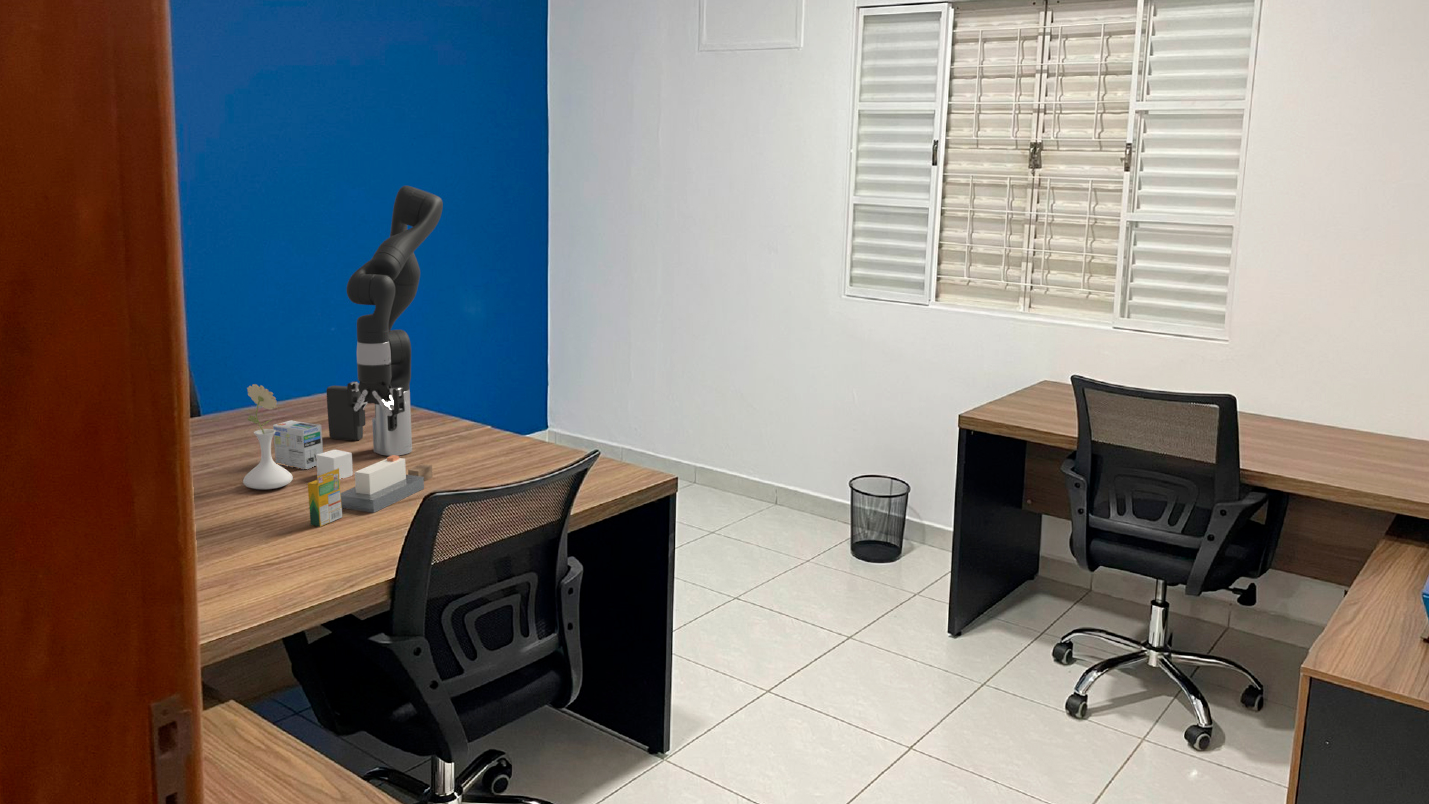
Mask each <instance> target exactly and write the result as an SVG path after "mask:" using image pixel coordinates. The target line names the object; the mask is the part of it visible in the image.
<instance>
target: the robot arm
mask: <svg viewBox="0 0 1429 804" xmlns="http://www.w3.org/2000/svg"><path fill="white" fill-rule="evenodd" d="M443 204H444V202H443V200H442V198H441V197H440V196H438V195H436V194H433V193H431V192H429V191H426V190H422V189H420V188H417V187H413V186H412V185H411V186H410V185H402V186H401V187H400V188H399V190H398V191H397V193H396V196H395V200H394V203H393V210H392V215H391V225H390V233H389V237H388V238H386V239H385V240H384V241H382V243H380V244H379V246H378V247H377V250H376V251H375V252H374V254H373V255H372V257H371V259H370V260H368V261H367V262H364V264H363V265H362V266H360V267H359V268H358V269H356V271H355V272H353V273H352V275H351V276H350V277H349V279H348V282H347V284H346V294H347V298H348V299H349V300H350V301H351V302H352V303H353V304H356V305H364V306H375V309H374V310H373V313H370V314H364V315H361V316H359V317H358V318H357V320H356V341H357V343H356V344H357V345H356V365H357V366H356V368H357V370H356V372H357V380H356V381H351V382H348V383H347V385H346V386H347V406H348V407H349V408H353V409H354V411H355V417H356V424H357V426H358V427H362V426H363V427H364V426H366V410H365V407H366V406H367V405H368V404H374V413H375V414H374V417H372V419H371V422H372V423H371V424H372V425H371V426H372V440H373V441H372V442H373V443H372V444H373V446H372V447H373V453H376V454H378V455H381V456H387V457H389V456H392V455H396V456H402V455H407V454H410V453H412V452H413V441H412V416H411V392H410V383H411V379H412V344H411V340H410V337H409V334H408V333H407V332H406V331H405V330H403V329H392V328H393V326H394V324H395V322H396V321H397V319H399V317H400V316H401V315H402V314H403V313H405V310H407V308H408V307H409V306H410V305H411V303H413V301H414V299H415V297H416V296H417V292H418V288H419V284H420V278H421V268H420V266H419V262H418V259H417V257H416V255H415V253H414V252H415V251H416V250H417V249H418V248H419V247H420V245H421V244H422V243H424V241H425V240H426V239H427V238H428V237H429V236H430V235H431V233H432V232H433V231H434V230H435V228H436V226H437V225H438V223H439V221H440V220H441V217H442V213H443V206H444V205H443ZM408 226H410V228H409V229H408ZM358 381H359V382H358ZM358 391H360V393H361V396H360V397H359V399H358Z"/></svg>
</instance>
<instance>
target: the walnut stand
mask: <svg viewBox="0 0 1429 804" xmlns="http://www.w3.org/2000/svg"><path fill="white" fill-rule="evenodd" d="M407 475H413V476H421V477H424V482H426V481H428V480H430V479H432V478H433V465H432V464H428V463H427V464H426V463H421V464H418V465H416V466H413V467H411V468H409V469H407ZM429 478H430V479H429Z"/></svg>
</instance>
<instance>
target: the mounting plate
mask: <svg viewBox="0 0 1429 804" xmlns="http://www.w3.org/2000/svg"><path fill="white" fill-rule="evenodd" d="M424 489H425V481H424V477H421V476H413V475H408V474H406V479H404V480H402V481H400V482H397V483H395V484H393V485H391V486H389V487H386V488H384V489H382V490H380V491H378V492H375V493H373V494H371V495H368V494H361V493H356V488H355V486H354V487H352V488H350V489H347V490H344V491H342V492H341V506H342V509H345V508H346V510H354V511H358V512H359V511H360V512H366V513H367V512H368V513H373V514H374V513H377V512H378V511H381V510H382V509H385V508H387V507H390V506H391V505H394V504H395V503H398V502H400V501H401V500H404V499H405V498H407V497H409V496H412V495H413V494H415V493H418V492H420V491H422V490H424Z"/></svg>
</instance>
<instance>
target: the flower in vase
mask: <svg viewBox="0 0 1429 804" xmlns="http://www.w3.org/2000/svg"><path fill="white" fill-rule="evenodd" d="M246 389H247V395H248V397H250V398H251V400H252V401H253V402H254V404H256V405H257V406H256V407H255V408H256V409H255V414H254V415H255V416H254V415H252V414H249V415H248V418H247V421H248V422H252V423H254V424H256V425H257V424H258V426H259V428H260V429H257V430H255V431H253V434H254V435H255V437H256V438H257V440H258V442H259V447H260V453H261V456H260V461H259V463H258V464H257V465H256V466H255V467H254V468H252V469H251V470H250V471H249V472H248V473H246V475H245V476H244V477H243V480H242V484H243V485H244V486H245V487H247V488H250V489H253V490H272V489H278V488H282V487H284V486H286V485H289V484H290V483H291V482H292V481H293V479H294V478H293V477H294V476H293V475H292V473H291V472H290V471H289V470H287V469H285V467H284V466H282V465H278V464H276V461H274V459H273V457H272V456H273V455H272V442H273V441H272V440H273V438H274V433H275V432H276V430H273V428H263V426H265V425H267V424H269V422H271V421H272V420H273V418H270V419H269V420H266V421H264V422H263V423H262V424H261V423H260V421H259V419H258V410H259V407H261V408H263V409H265V410H267V409H268V410H270V411H271V410H274V409H277V408H278V406H277V403H278V402H277V400H276V399H277V398H276V397H275V396H273V395H274V393H273V392H272V391H269V389H267V388H265V387H264V386H263V385H261V384H260V386H259V385H258V384H256V383H254V384H252V386H251V385H249V386H248V387H246Z"/></svg>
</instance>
